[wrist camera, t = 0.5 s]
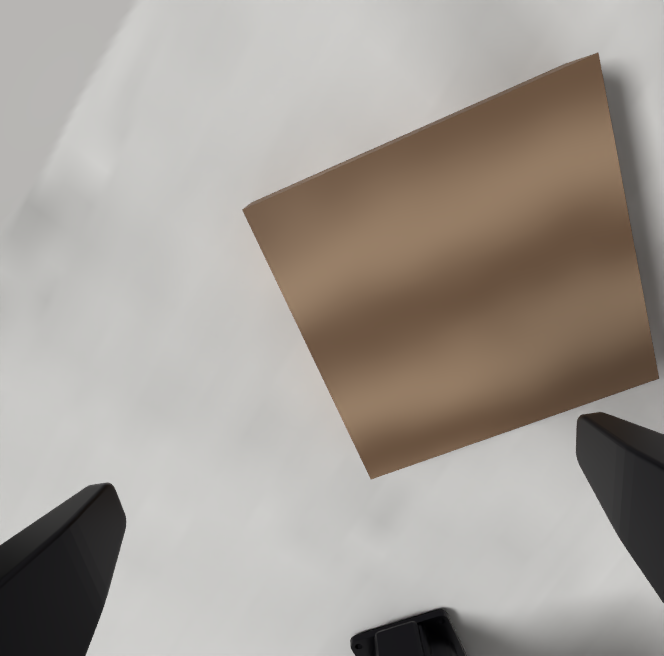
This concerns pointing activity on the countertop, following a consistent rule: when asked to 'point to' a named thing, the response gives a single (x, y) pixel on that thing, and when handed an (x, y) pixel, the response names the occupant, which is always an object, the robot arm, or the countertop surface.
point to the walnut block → (467, 271)
